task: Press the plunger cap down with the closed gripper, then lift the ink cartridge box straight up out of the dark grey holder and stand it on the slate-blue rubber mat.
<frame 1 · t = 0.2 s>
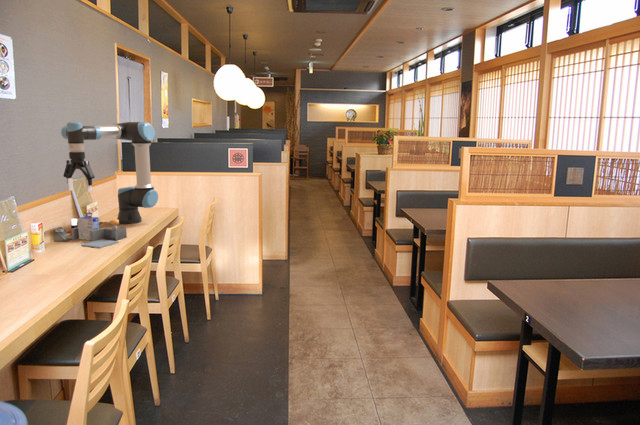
hand: (80, 190, 255), 28 cm above the counter, tool pointing down, fingers open, 13 cm apart
cartridge holder: (89, 238, 263), on the counter
rubber mat: (100, 244, 251), on the counter
plunger: (114, 225, 263), point 7 cm above the counter, slide at 0.0 cm
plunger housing: (115, 238, 264), on the counter
ink cartridge box: (89, 239, 263), resting in cartridge holder
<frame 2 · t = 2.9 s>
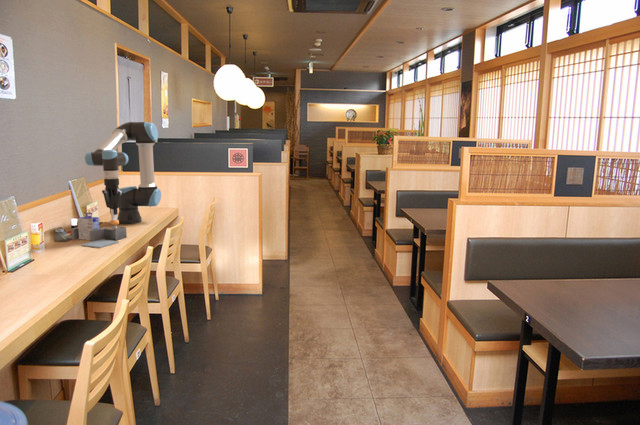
hand: (114, 220, 262), 11 cm above the counter, tool pointing down, fingers closed
plunger: (115, 226, 263), point 7 cm above the counter, slide at 0.2 cm, touching gripper
everything else where it was.
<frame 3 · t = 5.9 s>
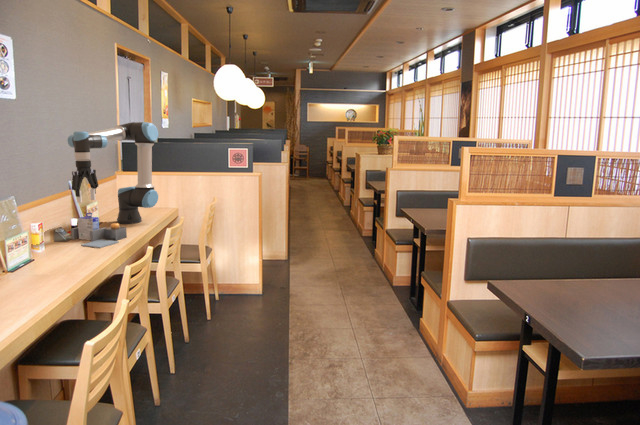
hand: (86, 201, 259), 21 cm above the counter, tool pointing down, fingers open, 8 cm apart
plunger: (115, 229, 263), point 5 cm above the counter, slide at 2.2 cm
everything else where it was.
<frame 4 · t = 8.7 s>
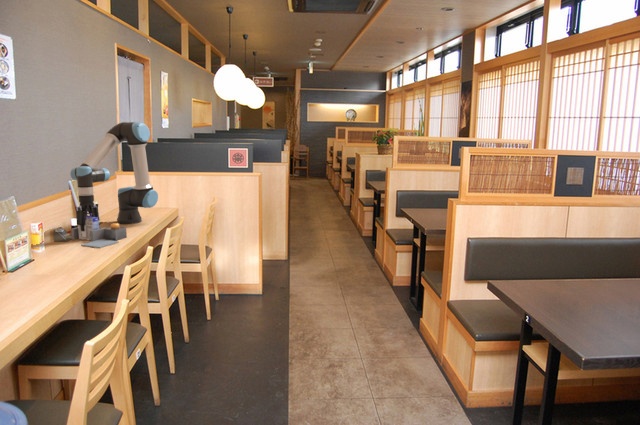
hand: (89, 235, 263), 2 cm above the counter, tool pointing down, fingers closed on ink cartridge box, 6 cm apart
ink cartridge box: (89, 239, 263), resting in cartridge holder, touching gripper
everything else where it was.
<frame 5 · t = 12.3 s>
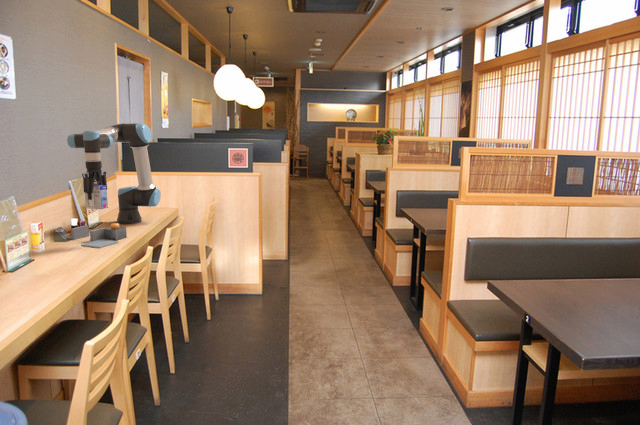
hand: (97, 204, 247), 21 cm above the counter, tool pointing down, fingers closed on ink cartridge box, 6 cm apart
ink cartridge box: (97, 208, 248), point 19 cm above the counter, touching gripper
everything else where it was.
when the fingers open (4 cm above the counter, at t = 15.7 s): ink cartridge box drops 2 cm, resting on rubber mat.
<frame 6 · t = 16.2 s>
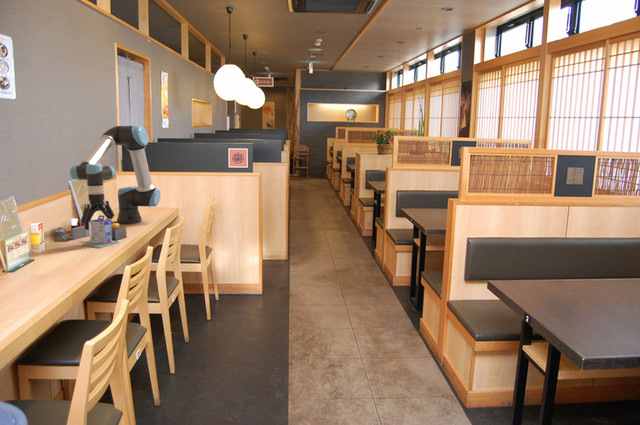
hand: (99, 233, 250), 6 cm above the counter, tool pointing down, fingers open, 13 cm apart
ink cartridge box: (101, 242, 252), resting on rubber mat
everything else where it was.
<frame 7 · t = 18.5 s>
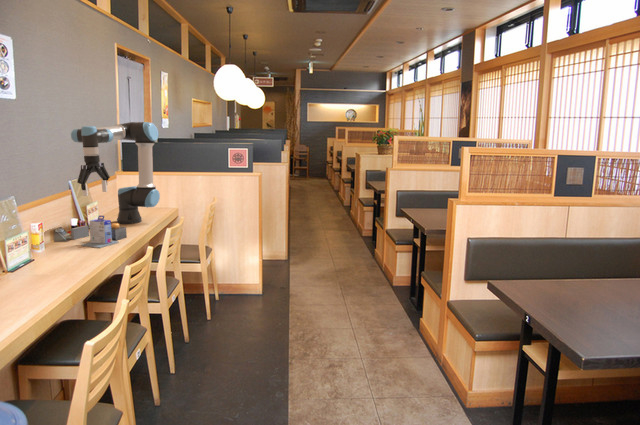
hand: (95, 193, 258), 26 cm above the counter, tool pointing down, fingers open, 13 cm apart
nothing on the counter moved.
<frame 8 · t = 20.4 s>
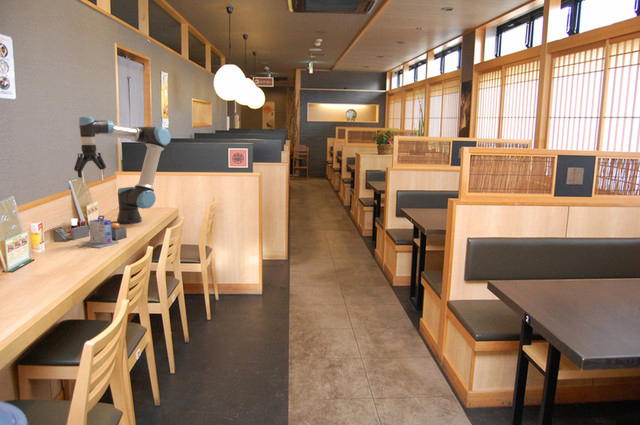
hand: (91, 181, 269), 31 cm above the counter, tool pointing down, fingers open, 13 cm apart
nothing on the counter moved.
at the end: plunger slide at 2.2 cm; ink cartridge box inside the target area (1.2 cm from its centre), resting on rubber mat; ink cartridge box tilted 0° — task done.
